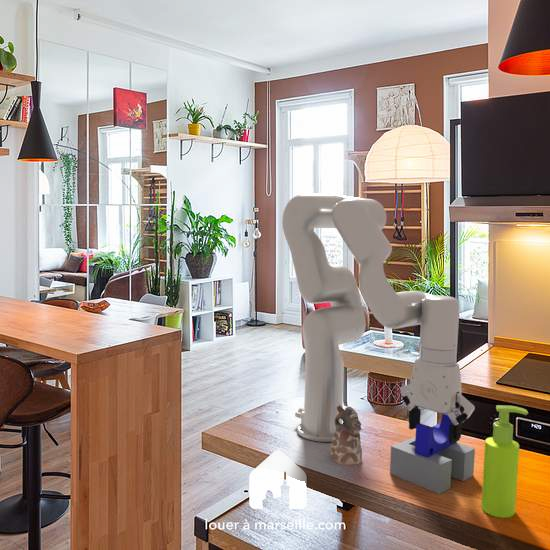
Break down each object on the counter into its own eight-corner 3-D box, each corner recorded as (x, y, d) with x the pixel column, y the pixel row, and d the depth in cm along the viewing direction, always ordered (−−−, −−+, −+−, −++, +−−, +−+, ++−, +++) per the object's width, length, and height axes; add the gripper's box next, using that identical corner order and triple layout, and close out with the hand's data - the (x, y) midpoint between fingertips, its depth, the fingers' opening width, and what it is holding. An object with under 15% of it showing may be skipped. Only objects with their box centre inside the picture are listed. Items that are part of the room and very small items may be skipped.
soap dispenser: (522, 521, 106) (530, 414, 104) (482, 515, 108) (489, 409, 105) (518, 505, 111) (525, 404, 109) (480, 500, 113) (486, 400, 111)
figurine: (352, 468, 126) (354, 414, 125) (324, 459, 131) (326, 407, 129) (367, 457, 132) (369, 406, 131) (340, 449, 136) (342, 399, 135)
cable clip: (438, 436, 130) (439, 410, 129) (456, 442, 126) (458, 415, 126) (408, 451, 121) (409, 423, 121) (427, 457, 118) (429, 429, 117)
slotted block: (389, 473, 124) (391, 446, 124) (424, 457, 133) (426, 432, 132) (439, 494, 115) (440, 465, 115) (473, 475, 124) (474, 448, 123)
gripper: (392, 349, 125) (389, 427, 127) (466, 366, 112) (461, 452, 114) (413, 345, 130) (409, 419, 132) (485, 360, 117) (480, 442, 119)
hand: (433, 434), depth 123 cm, fingers open, 9 cm apart
